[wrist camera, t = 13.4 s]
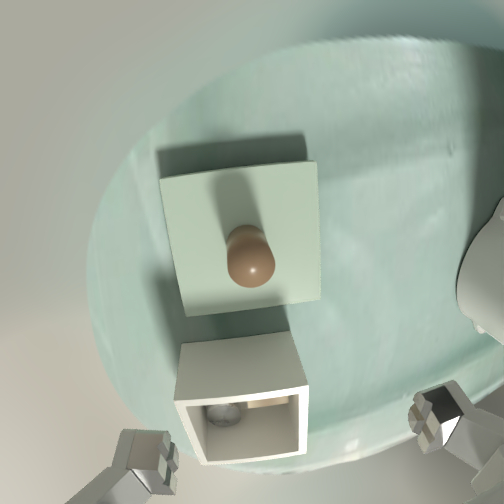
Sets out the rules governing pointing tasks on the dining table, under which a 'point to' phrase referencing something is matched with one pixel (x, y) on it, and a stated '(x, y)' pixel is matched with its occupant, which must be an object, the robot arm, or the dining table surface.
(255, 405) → the birch block
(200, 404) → the tub
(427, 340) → the dining table surface
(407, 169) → the dining table surface
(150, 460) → the robot arm
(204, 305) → the lid
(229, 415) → the metal ball
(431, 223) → the dining table surface
